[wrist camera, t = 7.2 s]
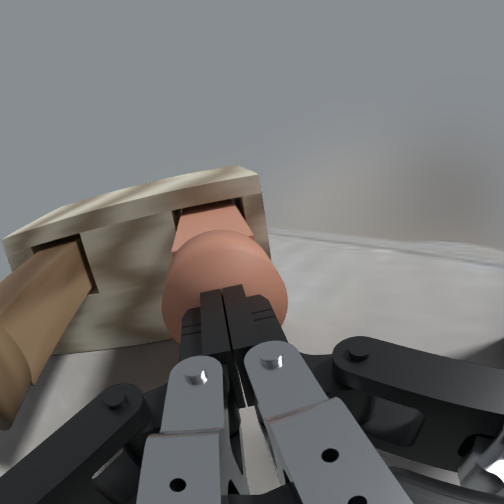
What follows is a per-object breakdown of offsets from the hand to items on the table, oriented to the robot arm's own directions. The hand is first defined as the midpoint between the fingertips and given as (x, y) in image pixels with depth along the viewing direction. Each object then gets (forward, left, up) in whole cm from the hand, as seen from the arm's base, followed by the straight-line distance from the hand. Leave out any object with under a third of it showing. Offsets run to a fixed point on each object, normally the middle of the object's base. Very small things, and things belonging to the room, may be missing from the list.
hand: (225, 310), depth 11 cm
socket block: (-6, +15, -7) cm, 18 cm away
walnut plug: (-11, +5, -2) cm, 12 cm away
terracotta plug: (0, +8, -2) cm, 9 cm away
